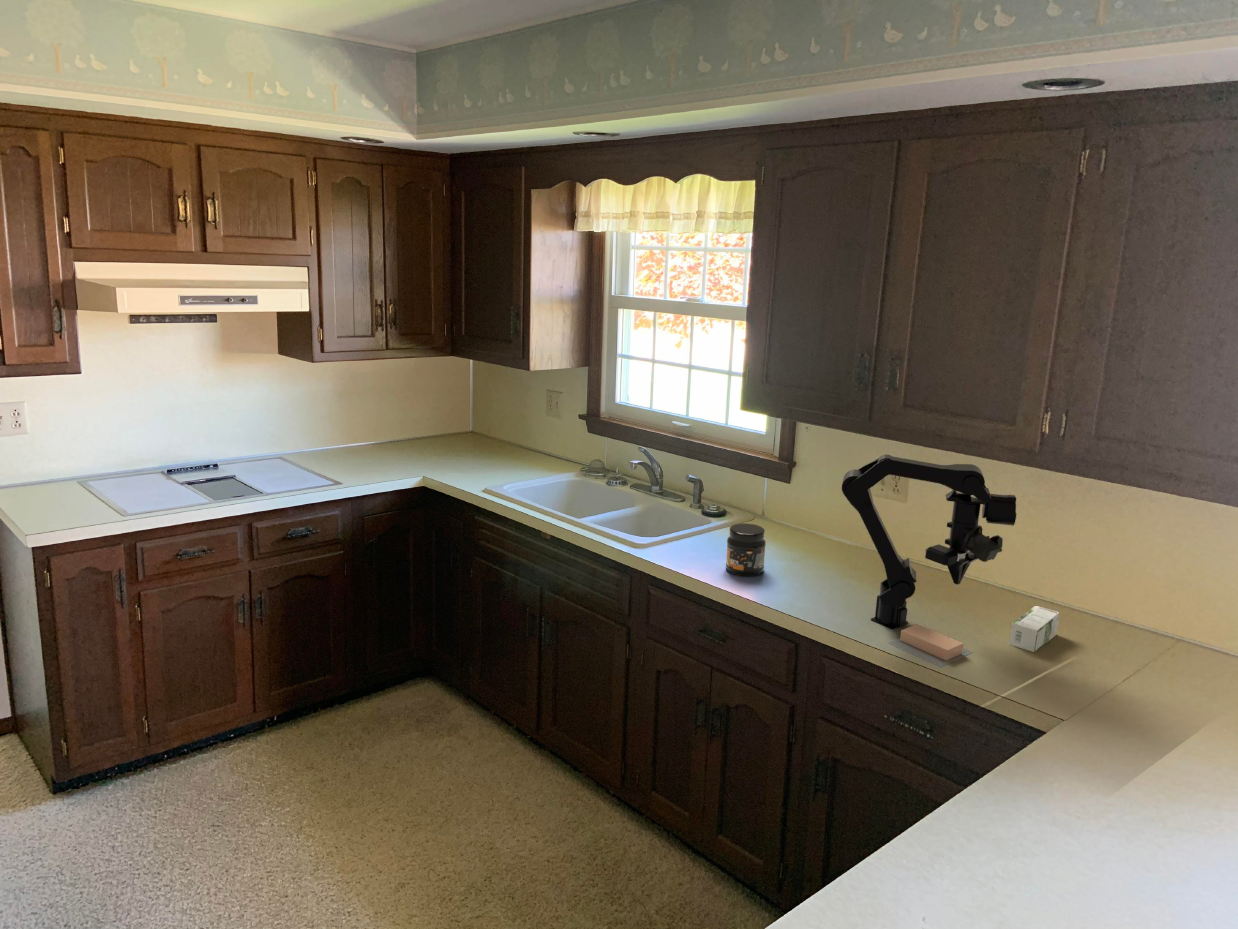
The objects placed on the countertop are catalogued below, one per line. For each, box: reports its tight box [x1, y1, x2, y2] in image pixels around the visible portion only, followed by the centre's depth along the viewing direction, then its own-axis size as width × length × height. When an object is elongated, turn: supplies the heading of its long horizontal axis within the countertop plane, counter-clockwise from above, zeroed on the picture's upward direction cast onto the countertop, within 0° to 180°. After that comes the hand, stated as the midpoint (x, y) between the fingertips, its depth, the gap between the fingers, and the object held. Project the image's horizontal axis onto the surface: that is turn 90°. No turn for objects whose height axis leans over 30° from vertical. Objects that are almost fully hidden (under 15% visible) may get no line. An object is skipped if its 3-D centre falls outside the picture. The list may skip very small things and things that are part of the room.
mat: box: [887, 637, 973, 668], centre depth 204 cm, size 14×12×1 cm
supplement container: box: [725, 522, 767, 577], centre depth 246 cm, size 10×10×12 cm
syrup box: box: [1009, 605, 1060, 653], centre depth 209 cm, size 6×6×14 cm
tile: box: [899, 623, 964, 661], centre depth 204 cm, size 12×3×6 cm
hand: (956, 583), depth 210 cm, fingers closed
